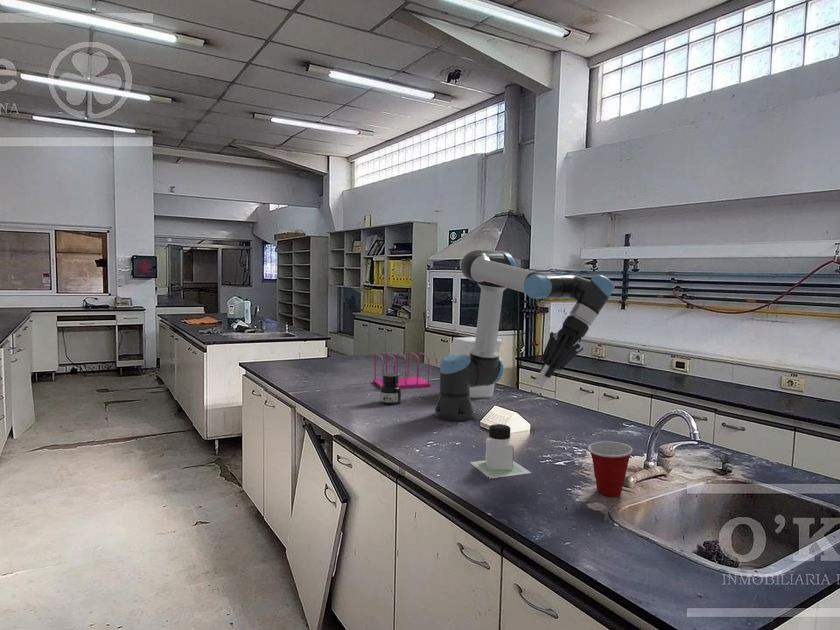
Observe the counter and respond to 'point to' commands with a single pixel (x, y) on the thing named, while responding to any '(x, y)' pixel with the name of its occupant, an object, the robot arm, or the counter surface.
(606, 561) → the counter surface
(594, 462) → the plastic cup
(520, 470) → the pad
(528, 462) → the counter surface
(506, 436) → the medicine bottle
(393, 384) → the ink bottle
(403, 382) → the file sorter
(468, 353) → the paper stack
